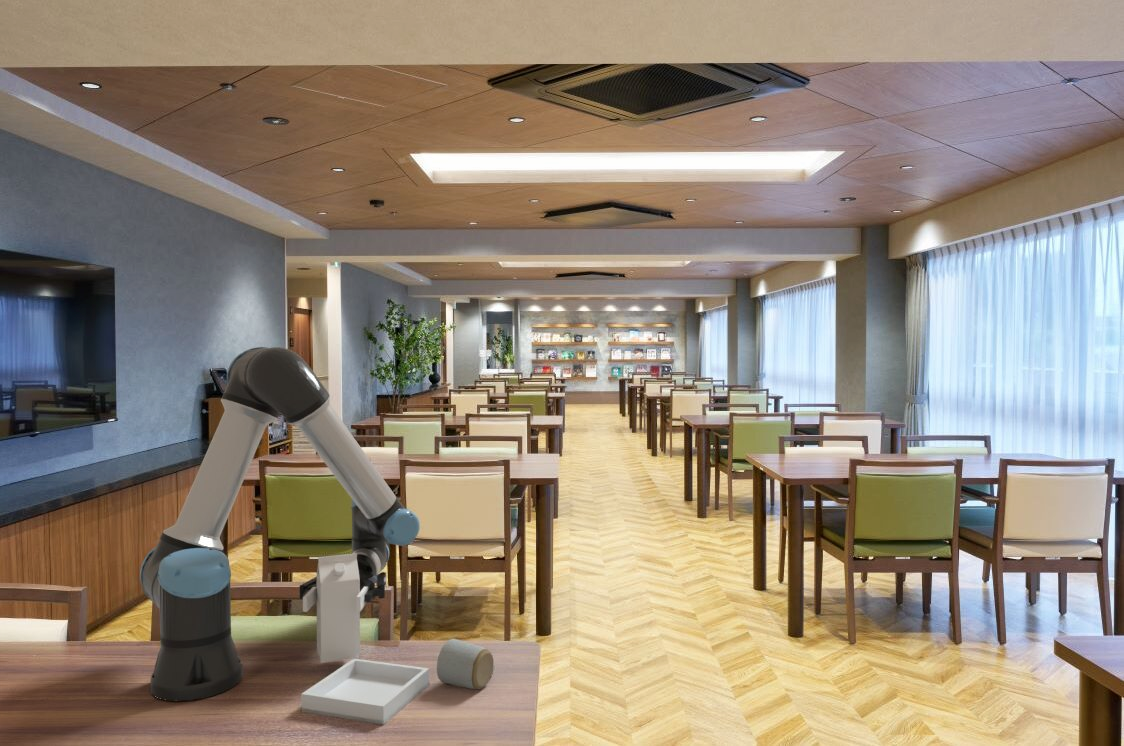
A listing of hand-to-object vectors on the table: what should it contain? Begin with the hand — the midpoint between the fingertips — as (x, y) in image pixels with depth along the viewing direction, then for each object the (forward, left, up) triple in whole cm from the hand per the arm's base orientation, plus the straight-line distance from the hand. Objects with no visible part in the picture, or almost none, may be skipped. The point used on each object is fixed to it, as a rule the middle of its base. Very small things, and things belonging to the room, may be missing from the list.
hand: (331, 604), depth 144 cm
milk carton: (-2, +4, -11) cm, 12 cm away
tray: (+11, -6, -13) cm, 19 cm away
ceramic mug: (+25, +5, -14) cm, 29 cm away
